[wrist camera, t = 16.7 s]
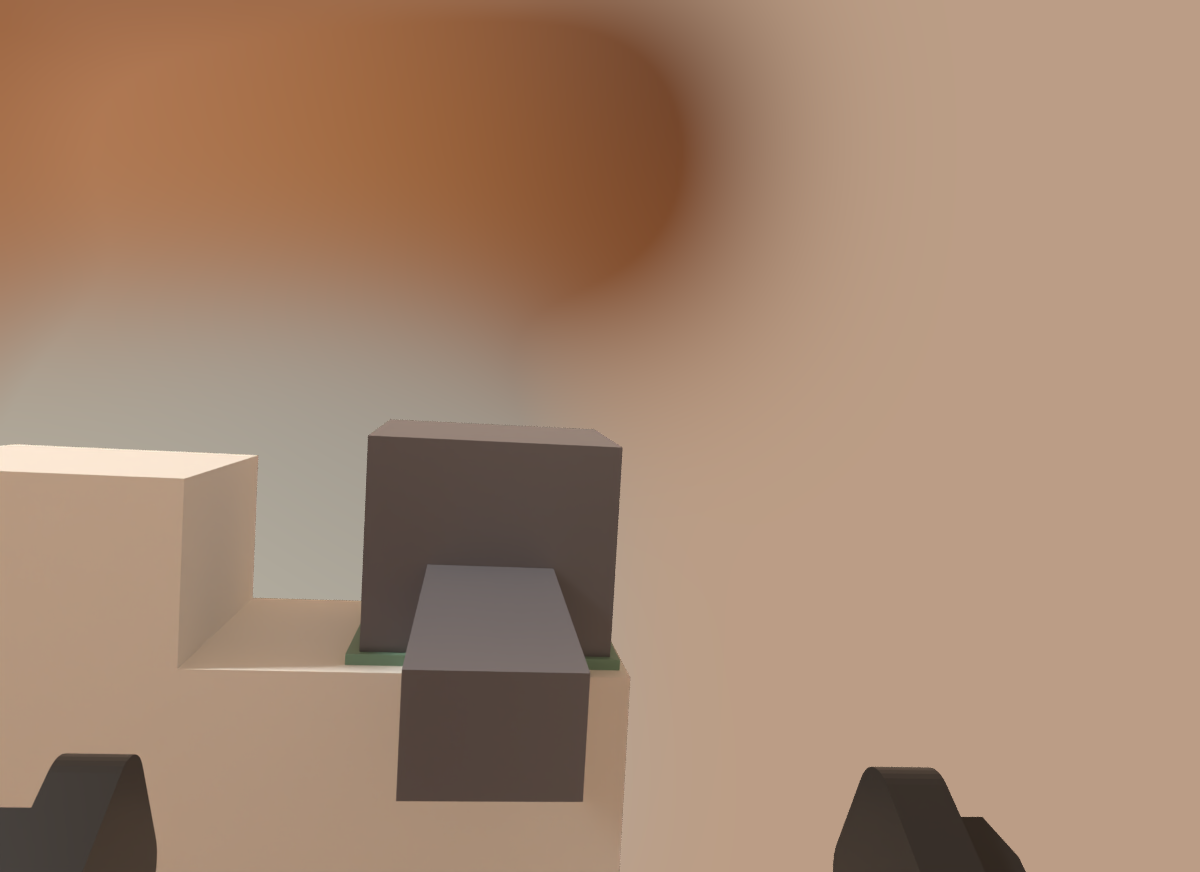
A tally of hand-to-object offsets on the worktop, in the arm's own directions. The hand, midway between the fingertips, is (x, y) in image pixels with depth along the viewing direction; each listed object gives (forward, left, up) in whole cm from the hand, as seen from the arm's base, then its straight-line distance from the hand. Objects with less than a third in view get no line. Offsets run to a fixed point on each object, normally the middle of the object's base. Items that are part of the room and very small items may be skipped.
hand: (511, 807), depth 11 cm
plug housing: (0, +16, -3) cm, 16 cm away
